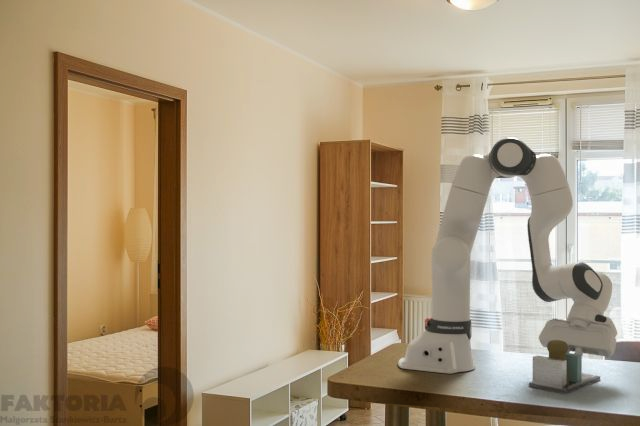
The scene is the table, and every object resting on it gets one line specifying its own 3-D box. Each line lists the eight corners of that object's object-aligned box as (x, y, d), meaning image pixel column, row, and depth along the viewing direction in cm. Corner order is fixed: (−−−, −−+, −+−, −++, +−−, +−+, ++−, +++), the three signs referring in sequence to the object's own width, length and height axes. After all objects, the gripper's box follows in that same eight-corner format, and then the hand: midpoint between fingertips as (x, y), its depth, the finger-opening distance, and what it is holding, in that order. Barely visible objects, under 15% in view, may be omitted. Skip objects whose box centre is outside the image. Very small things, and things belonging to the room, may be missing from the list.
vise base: (565, 394, 166) (565, 362, 166) (529, 386, 173) (529, 356, 173) (600, 379, 181) (600, 350, 181) (565, 373, 188) (565, 345, 188)
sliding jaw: (577, 382, 173) (577, 356, 173) (548, 377, 179) (548, 351, 179) (581, 381, 175) (581, 355, 175) (552, 375, 180) (553, 350, 180)
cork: (545, 383, 172) (545, 341, 172) (545, 378, 178) (545, 337, 178) (569, 386, 170) (570, 343, 170) (569, 380, 176) (569, 339, 176)
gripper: (544, 311, 191) (528, 349, 184) (616, 319, 176) (601, 361, 169) (552, 324, 194) (535, 363, 187) (623, 333, 179) (608, 375, 173)
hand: (567, 362), depth 178 cm, fingers closed, pressing on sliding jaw
